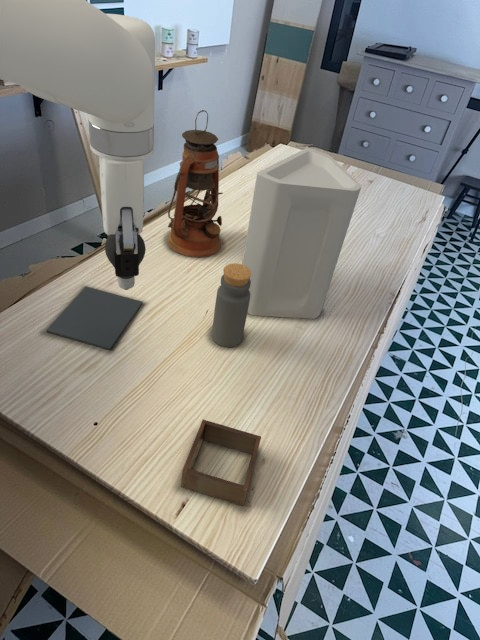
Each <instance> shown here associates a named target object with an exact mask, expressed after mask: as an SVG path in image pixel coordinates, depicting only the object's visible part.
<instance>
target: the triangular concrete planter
mask: <svg viewBox="0 0 480 640" xmlns="http://www.w3.org/2000/svg"><path fill="white" fill-rule="evenodd" d="M362 188H363V187H362V184H361V183H360V182H359V181H358V180H357V179H356V178H355V177H353V175H351V173H349V172H348V171H347V170H346V169H345V168H344V167H343V166H342V165H340V164H339V163H338V161H336V160H335V159H334V158H333V157H332V156H331V155H329V154H327V153H325V152H323V151H320V150H317V149H314V148H310V147H306V148H304V149H302V150H300V151H297V152H295V153H294V154H292V155H290V156H287V157H286V158H283V159H281V160H280V161H278V162H276V163H273V164H272V165H269V166H267V167H266V168H264V169H261V170H260V171H258V172H257V173H256V178H255V185H254V190H253V196H252V202H251V208H250V214H249V218H248V219H249V220H248V226H247V232H246V238H245V242H244V243H245V244H244V249H243V255H242V263H241V264H242V265H244V266H246V267H248V268H249V269H250V271H251V276H250V281H251V285H250V288H249V291H250V301H249V307H248V312H247V314H249V315H251V316H255V317H256V316H259V317H273V318H274V317H275V318H294V319H309V320H311V319H312V320H315V319H316V318H318V317H319V316H320V315H321V313H322V310H323V307H324V304H325V301H326V298H327V294H328V291H329V289H330V288H329V287H330V285H331V283H332V279H333V276H334V273H335V270H336V267H337V263H338V260H339V258H340V254H341V252H342V248H343V246H344V243H345V239H346V235H347V234H348V231H349V230H348V229H349V227H350V223H351V220H352V217H353V214H354V212H355V209H356V205H357V202H358V199H359V196H360V193H361V191H362V190H361V189H362Z"/></svg>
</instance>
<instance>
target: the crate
mask: <svg viewBox="0 0 480 640" xmlns="http://www.w3.org/2000/svg"><path fill="white" fill-rule="evenodd" d="M261 440H262V436H261V435H257V434H254V433H251V432H247V431H244V430H241V429H237V428H234V427H230V426H228V425H224V424H220V423H217V422H213V421H210V420H206V419H202V420H201V423H200V425H199V427H198V430H197V432H196V435H195V438H194V440H193V442H192V446H191V448H190V450H189V452H188V455H187V457H186V461H185V464H184V466H183V468H182V470H181V479H180V480H181V481H180V482H181V483H180V487H181V488H184V489H186V490H190V491H193V492H196V493H200V494H202V495H206V496H209V497H212V498H216V499H220V500H222V501H225V502H229V503H232V504H235V505H238V506H240V507H244V504H245V501H246V500H245V499H246V497H247V493H248V490H249V485H250V482H251V478H252V475H253V471H254V466H255V463H256V460H257V459H256V458H257V454H258V451H259V447H260V444H261ZM203 441H206V442H209V443H213V444H217V445H219V446H223V447H226V448H229V449H232V450H236V451H240V452H242V453H243V452H244V453H246V454H249V455H251V457H250V461H249V465H248V469H247V472H246V476H245V480H244V484H240V483H236V482H233V481H230V480H227V479H224V478H220V477H217V476H214V475H210V474H208V473H205V472H200V471H198V470H194V469H193V467H194V465H195V463H196V460H197V457H198V455H199V452H200V449H201V446H202V444H203Z"/></svg>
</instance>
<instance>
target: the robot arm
mask: <svg viewBox="0 0 480 640" xmlns="http://www.w3.org/2000/svg"><path fill="white" fill-rule="evenodd" d="M0 80H2V81H6V82H9V83H13V84H16V85H18V86H20V87H21V88H22V89H23V90H25V91H27V92H28V93H30V94H32V95H33V96H35V97H38V98H40V99H43V100H45V101H48V102H51V103H54V104H57V105H59V106H63V107H67V108H70V109H73V110H76V111H79V112H81V113H85V114H87V119H88V120H87V121H88V133H89V149H90V151H91V152H92V153H93V154H95V155H96V156H98V158H99V159H98V161H99V162H98V163H99V165H98V166H99V184H100V186H99V187H100V200H101V201H100V202H101V214H102V215H101V216H102V227H103V233H105V235H107V236H109V235H110V234H115V237H116V250H114V257H115V268H114V276H115V277H122V276H135V277H137V276H139V274H140V265H139V250H138V249H137V233H138V235H139V234H140V235H141V234H142V233H143V230H144V229H143V228H144V211H145V210H144V209H145V160H147V159H148V158H150V157H151V156H152V155H153V154H154V148H155V147H154V145H155V143H154V142H155V141H154V139H155V91H156V90H155V88H156V87H155V86H156V83H155V81H156V36H155V32H154V30H153V28H152V26H151V25H150V24H149V23H147V21H144V20H143V19H140V18H137V17H134V16H128V15H125V14H119V13H117V14H116V13H105V12H104V11H102V10H101V9H99V8H98V7H96V6H95V5H94V4H92V3H90V2H89V1H87V0H0ZM121 228H122V230H118V229H121ZM120 236H123V242H121V243H120Z"/></svg>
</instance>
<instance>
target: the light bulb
mask: <svg viewBox="0 0 480 640" xmlns="http://www.w3.org/2000/svg"><path fill="white" fill-rule="evenodd" d="M118 230H122V228H121V229H118ZM121 242H123V236H120V243H121ZM137 249H138V250H139V266H141V265H140V264H141V263H142V262H143V261H144V258H145V255H146V250H147V249H146V243H145V241H144V238H143V237H142V235H141V233H140V234H139V235H138V233H137ZM114 250H116V237H115V234H110V235H107V238H106V241H105V245H104V251H105V256H106V257H107V260H108V261H109V263H110V264H111V265H112V266H113V267H114V269H115V257H114ZM116 277H117V276H116ZM135 283H136V276H122V277H117V286H118V287H119V288H120V289H123V290H124V291H128V290H130V289H132V288H134V287H135Z"/></svg>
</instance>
